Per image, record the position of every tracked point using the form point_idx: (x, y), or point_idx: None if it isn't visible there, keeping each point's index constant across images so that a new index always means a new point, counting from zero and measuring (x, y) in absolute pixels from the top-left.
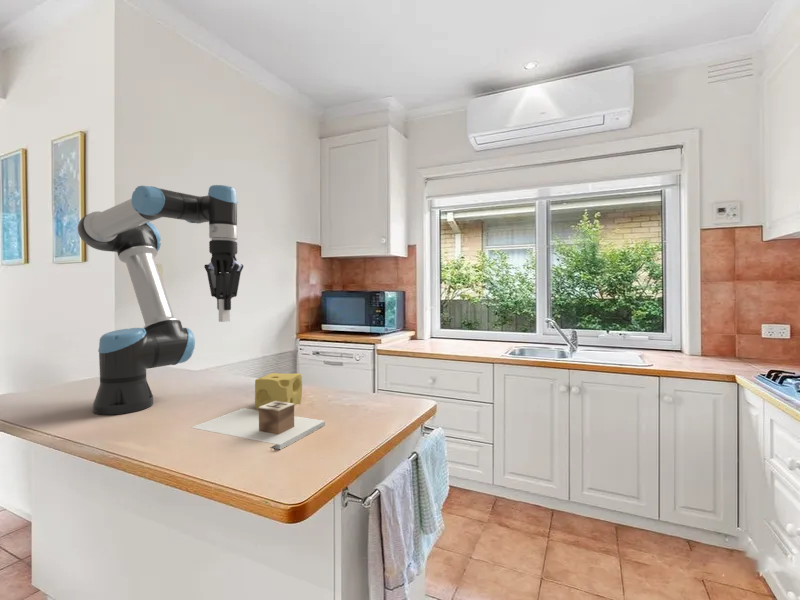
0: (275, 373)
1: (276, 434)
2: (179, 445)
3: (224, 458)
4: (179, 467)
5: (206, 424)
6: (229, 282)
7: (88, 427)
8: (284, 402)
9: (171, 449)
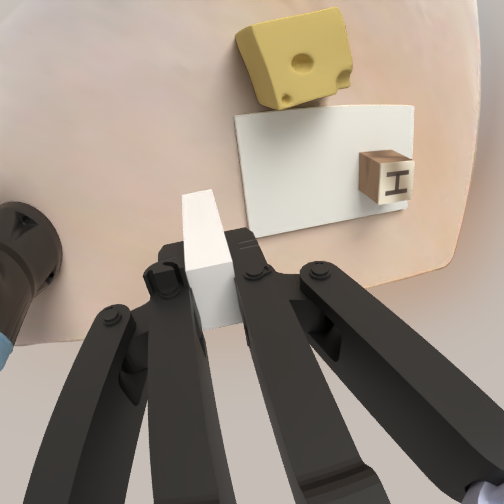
0: (268, 27)
1: None
2: (283, 266)
3: (363, 253)
4: None
5: (261, 217)
6: (369, 411)
7: (100, 308)
8: (399, 164)
9: None
